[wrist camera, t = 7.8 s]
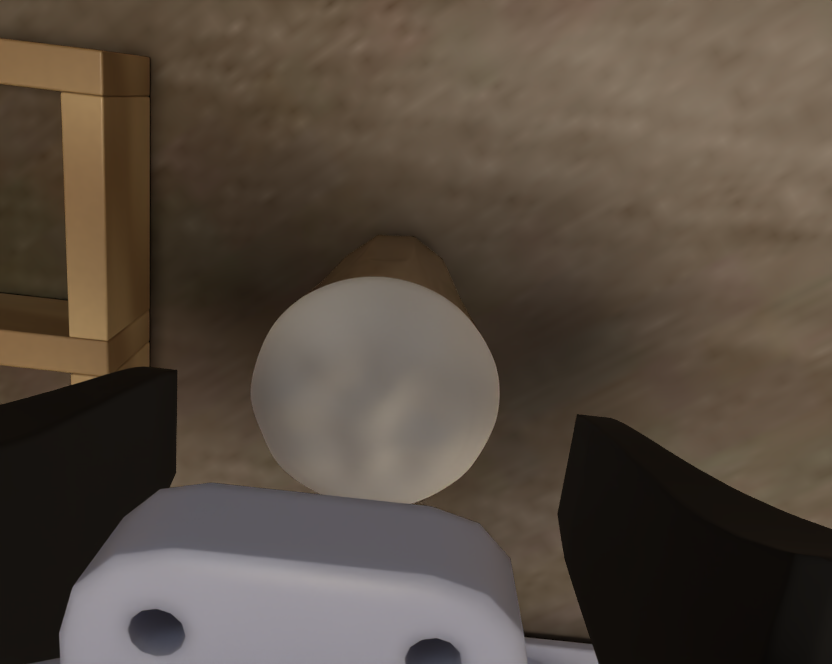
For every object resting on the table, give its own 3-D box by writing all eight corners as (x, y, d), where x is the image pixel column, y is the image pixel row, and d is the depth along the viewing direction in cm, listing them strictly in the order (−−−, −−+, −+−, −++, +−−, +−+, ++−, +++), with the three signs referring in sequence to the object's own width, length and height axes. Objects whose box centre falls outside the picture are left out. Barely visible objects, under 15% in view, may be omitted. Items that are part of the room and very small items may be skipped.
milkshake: (288, 356, 22) (180, 557, 12) (345, 186, 20) (271, 266, 11) (430, 405, 22) (432, 636, 13) (497, 242, 21) (555, 368, 11)
